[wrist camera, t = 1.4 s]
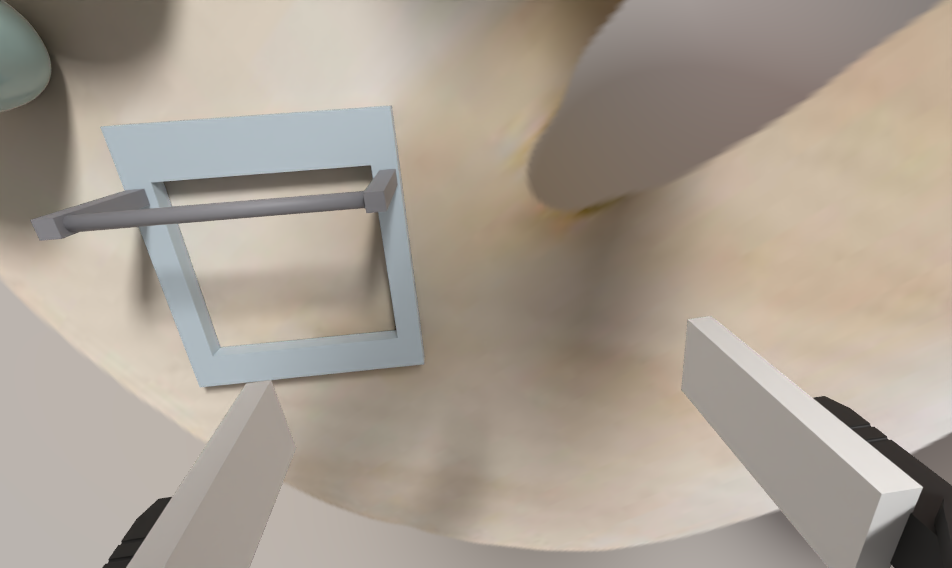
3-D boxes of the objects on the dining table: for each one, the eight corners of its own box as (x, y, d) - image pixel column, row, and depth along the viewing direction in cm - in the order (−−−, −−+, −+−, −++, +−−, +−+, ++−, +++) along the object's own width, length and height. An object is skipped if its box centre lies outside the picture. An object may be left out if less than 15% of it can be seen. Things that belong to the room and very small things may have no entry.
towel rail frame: (114, 125, 32) (-14, 137, 23) (391, 105, 33) (375, 109, 24) (207, 377, 41) (141, 459, 32) (424, 355, 42) (421, 428, 33)
